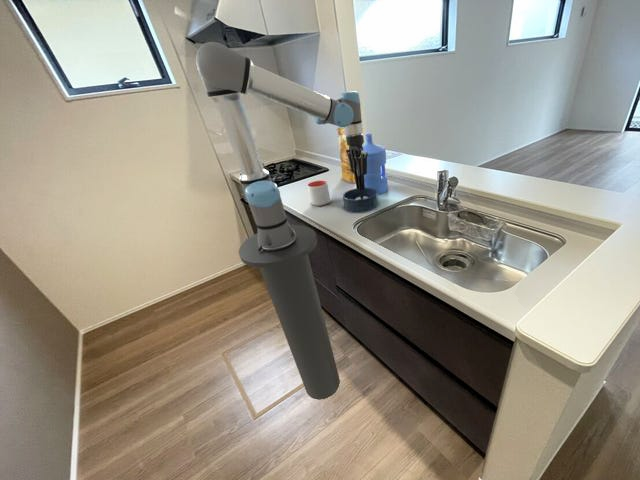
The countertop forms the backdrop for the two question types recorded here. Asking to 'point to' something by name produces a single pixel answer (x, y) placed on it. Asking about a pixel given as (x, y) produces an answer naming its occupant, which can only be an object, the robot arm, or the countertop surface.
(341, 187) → the countertop surface
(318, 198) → the cup
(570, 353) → the countertop surface
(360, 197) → the rod stand
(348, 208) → the bowl
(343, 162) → the pancake mix bag
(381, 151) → the water jug
